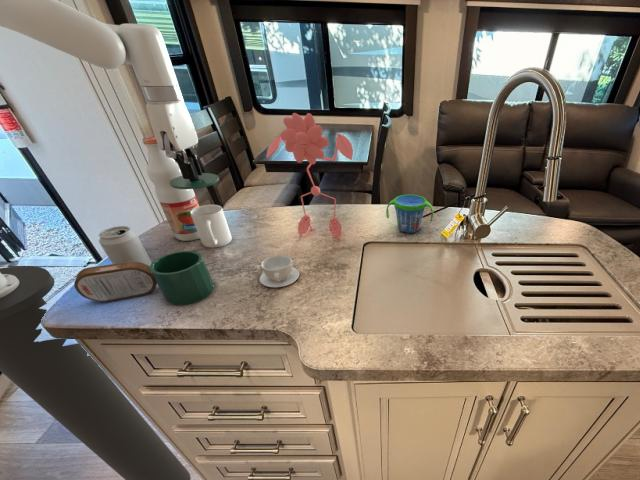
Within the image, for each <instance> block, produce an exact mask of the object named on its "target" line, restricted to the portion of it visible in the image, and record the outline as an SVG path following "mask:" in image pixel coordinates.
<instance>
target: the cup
mask: <svg viewBox="0 0 640 480" xmlns="http://www.w3.org/2000/svg"><path fill="white" fill-rule="evenodd" d="M190 214H191V217H192V219H193V222H194V224H195V227H196V229H197V232H198V234H199V237H200V238H199V239H200V242H201V244H202V245H203V246H204V247H206V248H209V249H210V248H211V249H212V248H213V249H215V248H222V247H225V246H226V245H228V244H230V243H231V241H232V239H233V238H232V234H231V231H230V228H229V225H228V221H227V218H226V215H225V212H224V210H223V207H222V206H221V205H220V204H219V205H218V204H203V205H199V207H196V208H194V209H192V210H191V211H190Z"/></svg>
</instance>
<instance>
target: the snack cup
mask: <svg viewBox="0 0 640 480" xmlns="http://www.w3.org/2000/svg"><path fill="white" fill-rule="evenodd" d="M392 204H393V205H394V209H395V214H396V215H395V216H396V222H397V227H398V229H399V230H400V231H401V232H402V233H406V234H410V233H411V234H412V233H413V234H415V233H417V232H418V231H420V230H421V227H422V222H423V218H424V213H425V208H426V207H428V208H430V213H431V214H430V223H432V221H433V220H434V219H433V218H434V208H433V205H432V204H431V203H430V202H429V201H428V200H427V199H426V197H424V196H421V195H418V194H410V193H409V194H401V195H398V196H396V197H394V198H393V199H392V200H390V201H389V203H388V204H387V205H386V211H385V214H386V215H385V216H386V219H390V211H389V207H390V206H391V205H392Z"/></svg>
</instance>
